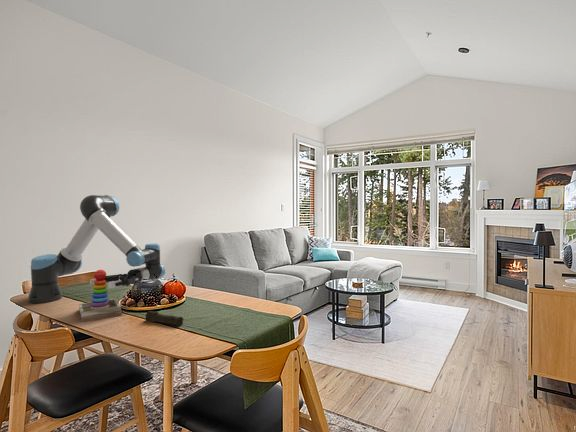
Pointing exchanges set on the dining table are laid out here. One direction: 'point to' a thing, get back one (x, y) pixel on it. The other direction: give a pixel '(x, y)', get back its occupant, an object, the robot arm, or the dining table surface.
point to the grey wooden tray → (99, 311)
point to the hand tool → (163, 318)
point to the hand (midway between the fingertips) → (99, 284)
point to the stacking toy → (99, 291)
